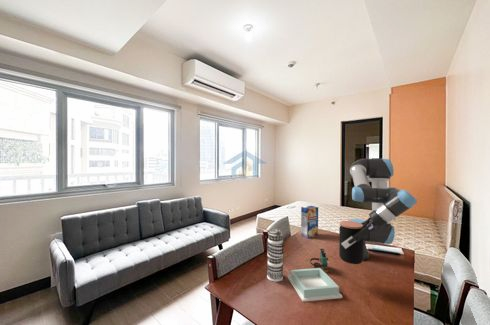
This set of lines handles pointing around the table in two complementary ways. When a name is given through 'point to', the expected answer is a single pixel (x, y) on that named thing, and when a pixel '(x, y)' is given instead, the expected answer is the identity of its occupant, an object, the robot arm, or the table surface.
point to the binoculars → (322, 260)
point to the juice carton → (309, 221)
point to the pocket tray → (313, 284)
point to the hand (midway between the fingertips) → (344, 242)
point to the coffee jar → (355, 250)
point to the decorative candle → (275, 255)
